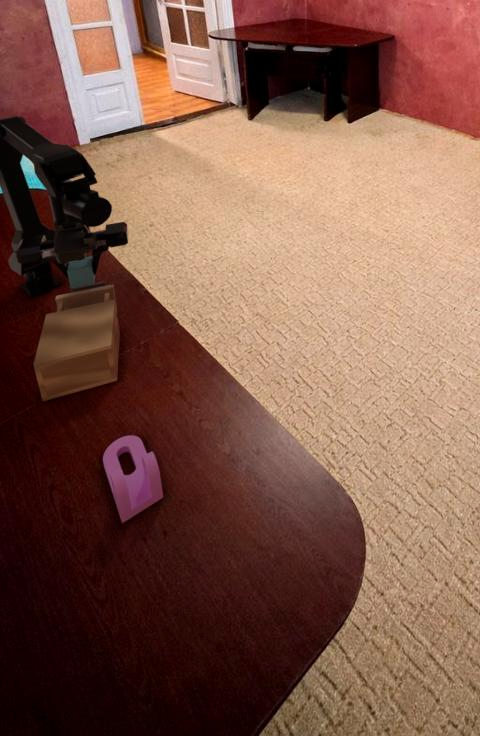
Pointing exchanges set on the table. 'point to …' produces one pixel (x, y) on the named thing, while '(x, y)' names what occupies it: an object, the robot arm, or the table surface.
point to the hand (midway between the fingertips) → (82, 276)
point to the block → (81, 272)
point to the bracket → (132, 477)
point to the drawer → (86, 296)
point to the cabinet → (78, 350)
